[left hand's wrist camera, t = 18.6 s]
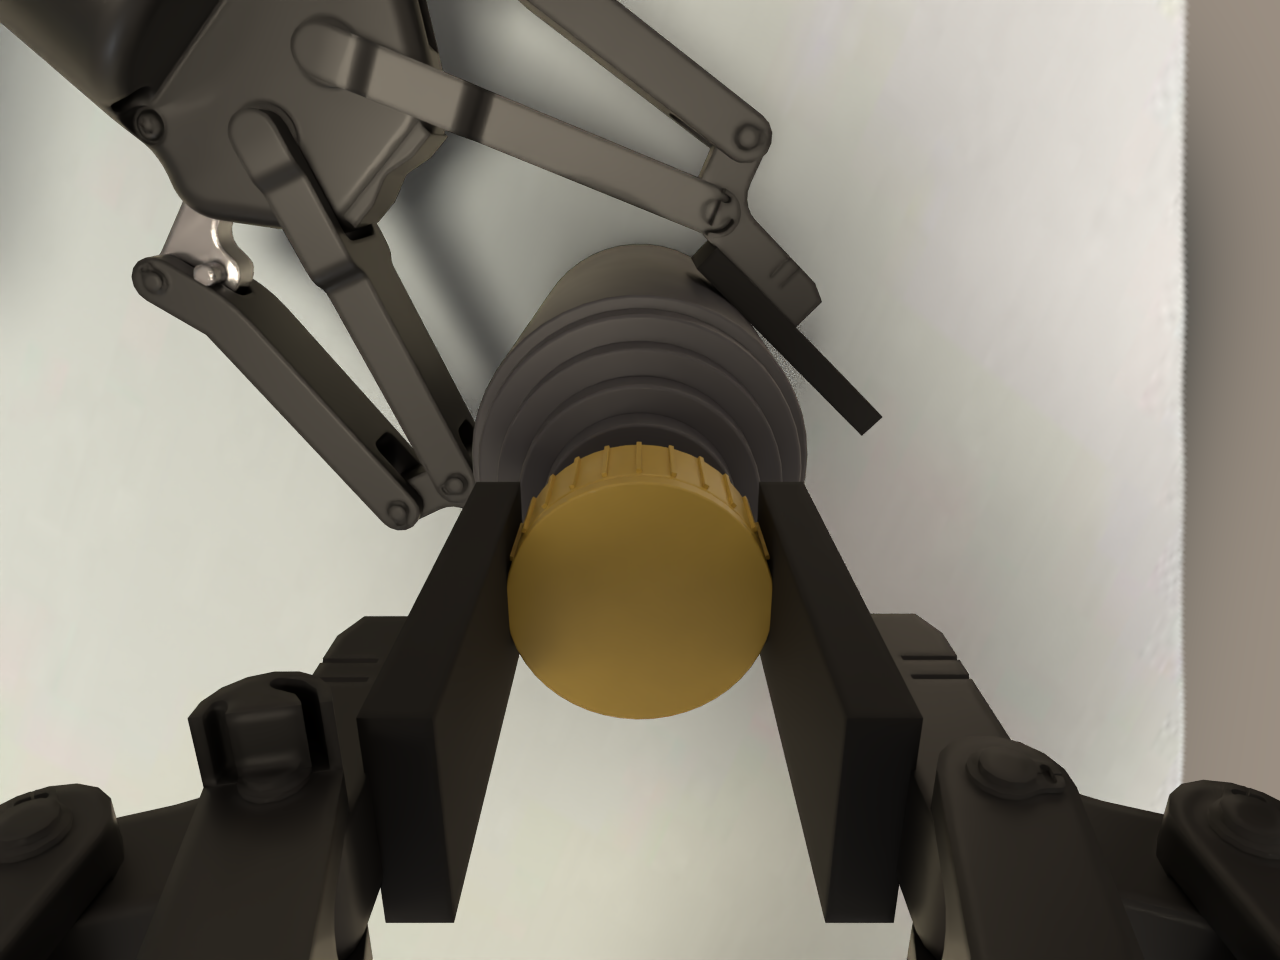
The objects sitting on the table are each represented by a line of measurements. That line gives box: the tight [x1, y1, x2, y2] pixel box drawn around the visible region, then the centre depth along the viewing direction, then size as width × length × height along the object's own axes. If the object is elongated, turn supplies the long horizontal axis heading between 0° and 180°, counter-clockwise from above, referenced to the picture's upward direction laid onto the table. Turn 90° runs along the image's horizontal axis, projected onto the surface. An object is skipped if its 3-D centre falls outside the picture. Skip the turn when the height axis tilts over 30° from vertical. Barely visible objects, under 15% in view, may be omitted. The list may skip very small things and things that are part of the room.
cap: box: [507, 442, 772, 719], centre depth 14 cm, size 4×4×2 cm
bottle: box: [472, 244, 807, 523], centre depth 22 cm, size 8×8×18 cm
